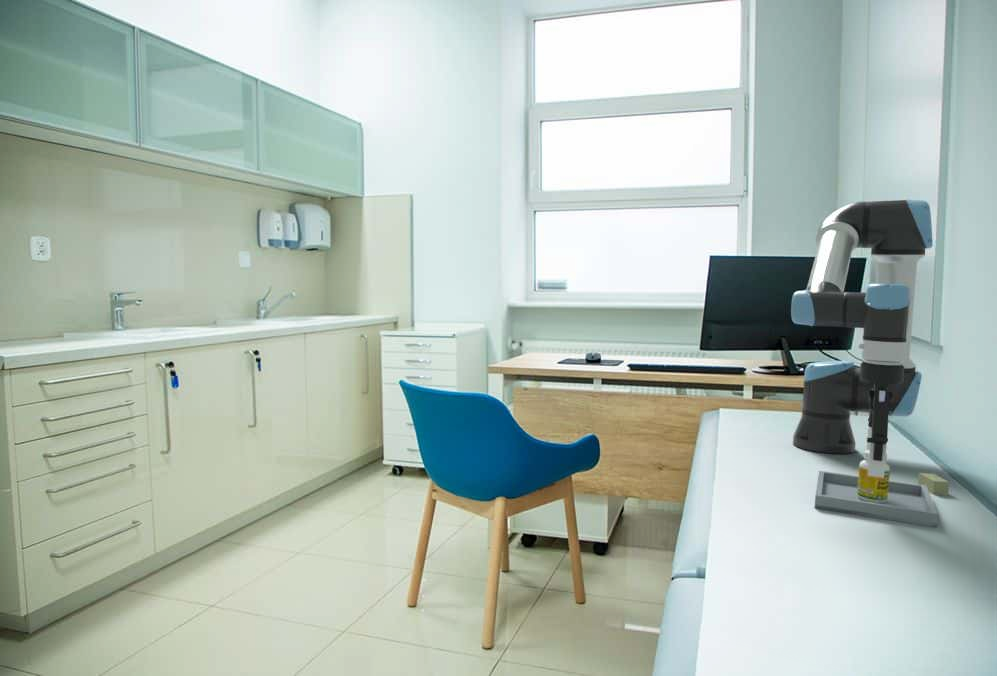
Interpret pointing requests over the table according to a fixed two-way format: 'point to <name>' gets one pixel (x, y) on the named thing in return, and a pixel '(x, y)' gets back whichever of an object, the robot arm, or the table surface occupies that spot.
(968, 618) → the table surface
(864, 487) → the supplement bottle
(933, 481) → the olive brick
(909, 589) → the table surface
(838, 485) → the slate tray
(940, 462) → the table surface
